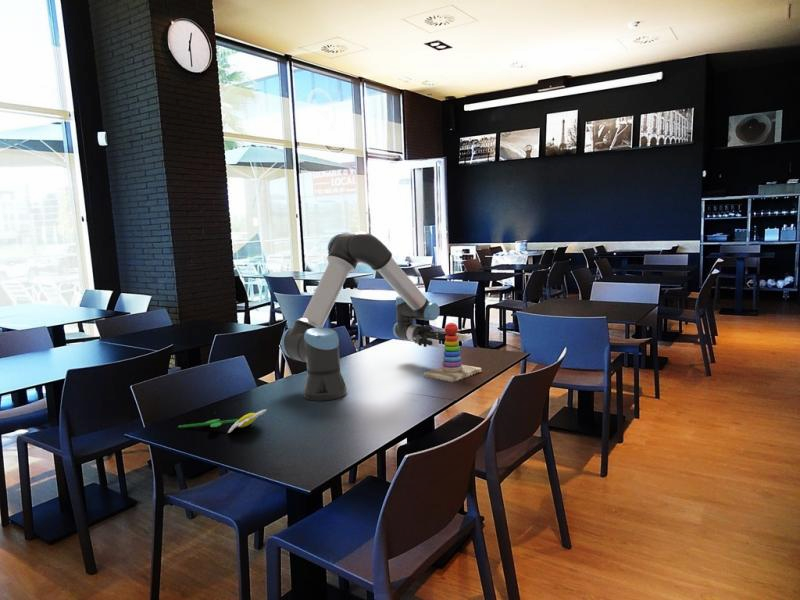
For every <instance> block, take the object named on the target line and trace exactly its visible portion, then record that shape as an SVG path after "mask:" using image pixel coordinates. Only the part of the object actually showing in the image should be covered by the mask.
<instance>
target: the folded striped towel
mask: <svg viewBox="0 0 800 600" xmlns="http://www.w3.org/2000/svg"><path fill="white" fill-rule="evenodd" d="M461 365H462V367H463V369H462V370H461V371H459V372H445V371H443V370H442V367H443V366H440V367H437V368H434V369H432V370H428V371H426V372H423V376H426V377H425V378H429V377H430V379H434V378H435V380H439V379H440V381H444V382H449V383H454V382H457V381H460V380H463V379H464V378H468V377H470V375H471V376H474V375H475V374H476V373H477V374H479V373H481V372H482V367H477V366H471V365H466V364H461ZM478 372H479V373H478ZM473 374H474V375H473ZM459 379H460V380H459Z"/></svg>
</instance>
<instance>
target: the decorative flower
mask: <svg viewBox="0 0 800 600" xmlns="http://www.w3.org/2000/svg"><path fill="white" fill-rule="evenodd" d="M267 411H268V409H267V408H265V409H261V410H259V411H258V412H249V413H247V414H245V415H243V416H242V417H240V418H237V419H235V418H233V419H226V420H220V418H216V419H211V420H208V421H205V422H199V423H190V424H183V425H178V426H177V428H178V429H185V428H191V427H193V428H194V427H201V426H202V427H203V426H209V427H211V428H217V427H220V426H222V424H228V423H229V424H230V423H232V425H231V427H230V428H229V430H228V431H227V434H229V433H231V432H233V430H234V429H235V428H237V427H238V428H244V427H247V426H249V425H251V424H252V423H253V422H254V421H256V419H257V418H258V417H259V416H261V415H264V414H265V412H267ZM233 423H234V424H233Z"/></svg>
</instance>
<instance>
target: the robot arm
mask: <svg viewBox="0 0 800 600" xmlns="http://www.w3.org/2000/svg"><path fill="white" fill-rule="evenodd" d="M327 254H328V256H327V258H326V259H327V262H328V265H327V266H326V268H325V271H324V273H323V274H322V277H321V278H320V280H319V282H318V285H317V287H316V289H315V290H314V293H313V295H312V296H311V299H310V300H309V302H308V305H307V306H306V309H305V311H304V312H303V315H302V317H301V318H298V319H296V320H295V322H294V324H293V325H292V327H291V328H287V329H286V330H285V331H284V332H283V334H282V336H281V339H280V347H281V349H282V352H283V353H284V355H285V356H286V357H288V358H289V359H291V360H294V361H299V362H303V363H306V370H307V373H306V374H307V376H306V380H305V384H304V389H303V397H304V398H305V399H306V400H308V401H317V402H320V401H332V400H335V399H339V398H342V397H344V396H346V395H347V393H348V391H347V385H346V383H345V382H346V381H345V380H344V378H343V375H342V372H341V360H340V358H341V357H340V345H339V344H340V341H339V335H338V332H337V331H336V330H334V329H333V328H328V327H324V326H325V325H326V321H327V319H328V317H329V316H330V313H331V310H332V308H333V307H334V305H335V302H336V300H337V298H338V297H339V295H340V291H341V290H342V288H343V285H344V284H345V282H346V279H347V278H348V275H349V274H350V273H353V272H354V271H356V270H355V269H356V268H357V265H358V263H363V264H365V265H366V266H367V265H368V267H370V269H372V270H373V271H377V272H378V273H379V274H380V276H381V277H382V278H383V279H384V280H385V281H386V282H387V283H388V284H389V285H390V286H391V288H392V289H393V290H394V291H395V292H396V294H397V295H398V296H396V298H395V313H396V323H394V324H393V327H392V333H393V335H394V336H395V337H396V338H397V339H400V340H401V341H408V342H413V343H414V344H417V345H418V346H419V347H421V346H423V348H427V346H430V347H432V348H434V347H435V348H438V349H439V348H440V341H441V340H446V339H445V337H446V335H447V334H446V332H445V330H437V331H436V330H435V331H434V330H432V329H431V328H430V327H429V326H425V325H421V324H415V320H420V321H421V320H423V321H435V320H436V319H438V318H439V316H440V306H439V305H438V304H437V303H436V302H433V301H429V300H428V298H426V296H425V295H424V294H423V293H422V292H421V289H419V288H418V287H417V286H416V284H415V283H414V282H413V281H412V280H411V278H410V277H409V275H407V274H406V273H405V271H404V270H403V269H402V268H401V267H400V266H399V264H398V263H397V262H396V261H395V259H394V258H393V253H392V252H391V251H390V250H389V249H388V247H387V246H386V245H385V244H384V243H383V242H382V241H381V240H380V239H379V238H378V237H376V236H374V235H373V234H371V233H370V232H366V231H357V232H348V231H347V232H341V233H337V234H334V236H332V237H331V239H330V240H329V241H328V244H327ZM455 335H457V336H458V339H457V341H458V342H463V343H467V335H466V334H462V333H460V331H458V332H457V333H456V334H455Z"/></svg>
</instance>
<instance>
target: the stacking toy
mask: <svg viewBox="0 0 800 600" xmlns="http://www.w3.org/2000/svg"><path fill="white" fill-rule="evenodd" d="M444 331H445V332H446V334H447V335H446V337H445V339H444V340H445V341H444V347H443V348H444V351H443V355H444V356H443V357H442V358H443V360H442V363H441V364H442V366H441V367H442V370H443V371H445V372H459V371H461V370H462V369H463V367H462V365H463V364H462V362H463V361H462V360H461V359H462V356H461V349H460V345H459V342H460V341H457V339H458V336H457V335H455V334H456V333H457V332H459V326H458V325H457V324H456V323H455V322H448V323H447V324H446V325H445V326H444Z"/></svg>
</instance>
